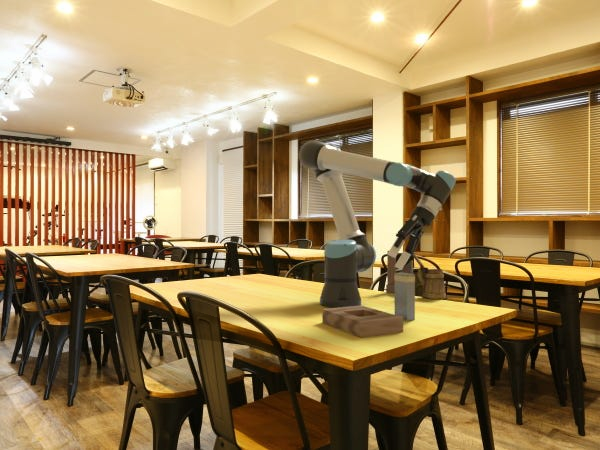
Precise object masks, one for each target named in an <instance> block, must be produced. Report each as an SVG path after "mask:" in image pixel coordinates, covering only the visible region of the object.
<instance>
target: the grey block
mask: <svg viewBox="0 0 600 450" xmlns="http://www.w3.org/2000/svg"><path fill="white" fill-rule="evenodd" d="M394 280H395V293H394V315H397V316H401V317H403V321H407V322H409V321H415V320H416V307H415V306H416V299H415V298H416V289H415V287H416V284H415V283H416V274H415V273H413V274H409V273H399V272H396V273H395V275H394Z"/></svg>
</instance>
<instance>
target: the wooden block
mask: <svg viewBox="0 0 600 450" xmlns="http://www.w3.org/2000/svg"><path fill="white" fill-rule="evenodd" d="M388 252H389V250H387V254H386V255H387V264H386V265H387V267H386V269H387V272H386V273H387V274H386V275H387V276H386V278H387V281H386V283H387V284H385V292H386V293H387V294H395V280H394V275H395V273H397V268H396V267H395V264H396V263H397V256H396V257H395V258H393V257H391V256H389V255H388ZM408 262H409V263H406V264H405V265H404V267H403V268H402V270H399V272H398V273H409V274H414V259H413V260H410V261H408Z"/></svg>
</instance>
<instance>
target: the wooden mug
mask: <svg viewBox="0 0 600 450" xmlns="http://www.w3.org/2000/svg"><path fill="white" fill-rule="evenodd" d="M412 257H413V258H414V260H415V261H416V263H417V264H418V265H419V269H418V270H417V273H416V276H417V279H418V281H419V282H420V284H421V286H422V289H423V290H422V291H423V292H422V297H423V298H424V299H429V300H444V299H447V294H446V289H445V288H446V287H445V281H444V278H445V274H444V271H443V269H442V268H441V269H440V268H435V269H434V268H431V269H429V267H425V265H424V264H423V263H422V261H421V260H420V259H419V257H418V256H417V255H416V254H415V253H414V255H413V256H412ZM423 274H424V277H425V279H423Z"/></svg>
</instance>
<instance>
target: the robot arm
mask: <svg viewBox="0 0 600 450" xmlns="http://www.w3.org/2000/svg"><path fill="white" fill-rule="evenodd" d="M299 149H300V150H299V152H298V153H299V154H298V158H299V159H298V160H299V161H300V163H301V165H302V166H303V167H304V168H305V169H308V170H310V171H314V175H315V177H316V180H317V181H318V182H320V183H321V184H322V188H323V191H324V194H325V197H326V200H327V203H328V206H329V209H330V212H331V215H332V220H333V222H334V224H335V228H336V230H337V231H336V232H337V234H338V235H337V236H338V237H339V239H337V240H330V241H328V242H326V243H325V245H324V251H323V255H324V285H323V287H322V290H321V294H320V297H319V304H320V305H321V306H323V307H328V308H340V307H350V306H361V305H362V297H361V294H360V290H359V287H358V283H357V273H363V272H366V271H368V270H369V269H371V268H372V267H373V265H374V264H375V262H376V259H377V251H376V249H375V247H374V246H373V245H372V244H371V243H370V242H369V241H368V238H367V236H366V233H364V232H362V231H361V230H360V227H359V223H358V220H357V217H356V215H355V212H354V208H353V205H352V203H351V199H350V197H349V194H348V191H347V186H346V184H345V182H344V179H343V174H348V175H351V176H357V177H360V178H365V179H368V180H369V179H370V180H374V181H378V182H381V183H386V184H389V185H393V186H396V187H403V188H408V189H412V190H415V191H417V192H418V193H422V195H421V198H420V199H419V201H418V203H417V204H416V206H415V208H414V209H413V211H412V212H411V216H410V218H409V219H407V221H406V222H405V223H404V225H402V227H401V228H400V229H399V230H398V231H397V232H396V234H395V237H396V239H395V240H394V242H393V244H392V246H391V247H390V249H389V250H388V251H389V252H388V255H389V256H391V257H393V258H395V257H396V258H397V255H399V252H400V251H401V249H402V247H403V246H404V244H405V242H406V239H407V238H408V241H407V244H406V247H405V250H404V251H403V252H402V253H401V255H400V257H399V258H398V260H396V264H395V267H396V269H398V270H399V271H401V270H402V269H403V268H404V267H405V266H406V265H407V262H408V260H409V259H410V257H413V255H414V254H415V252H416V249H417V247H418V245H419V242H420V240H421V238H422V237H423V234H424V233H425V230H424V226H427V227H429V226H431V225H432V223H433V222H434V220H435V219H436V216H437V215H438V214H439V211H442V210H443V209H442V206H444V203H445V202H446V200H447V198H449V196H450V194H451V192H452V191H453V188H454V187H455V184H456V182H457V181H456V177H455V176H454V175H453V174H452V173H450V172H448V171H446V170H438V171H437V172H436V173H435V174H434V173H430V172H428V171H425V170H423V169H421V168H418V167H416V166H414V165H412V164H411V165H410V164H408V163H403V162H395V161H391V160H386V159H381V158H377V157H371V156H367V155H362V154H359V153H358V154H357V153H353V152H348V151H345V150H341V149H340V148H339V147H337V146H335V145H334V144H332V143H325V142H322V141H319V140H308V141H306V142H305V143H304V144H303V145H302V146H301V147H300V148H299Z"/></svg>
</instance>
